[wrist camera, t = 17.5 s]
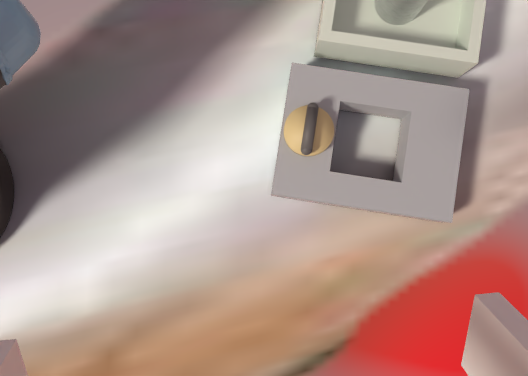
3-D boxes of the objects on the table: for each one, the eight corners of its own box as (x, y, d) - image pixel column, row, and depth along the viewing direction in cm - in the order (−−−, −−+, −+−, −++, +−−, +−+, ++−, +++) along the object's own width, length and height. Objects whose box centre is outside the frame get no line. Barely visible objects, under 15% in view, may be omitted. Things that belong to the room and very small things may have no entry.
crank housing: (271, 195, 41) (271, 193, 36) (290, 73, 41) (292, 54, 37) (438, 221, 40) (461, 223, 35) (455, 98, 41) (480, 82, 36)
